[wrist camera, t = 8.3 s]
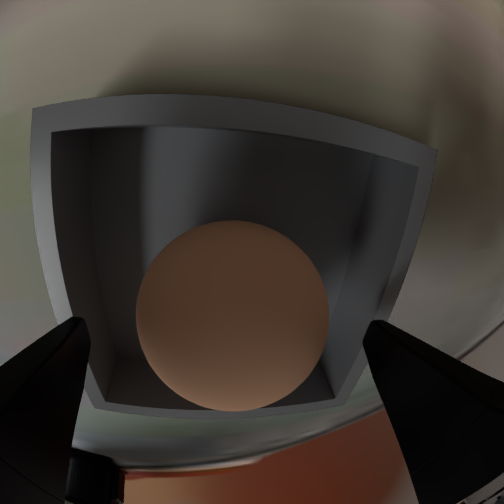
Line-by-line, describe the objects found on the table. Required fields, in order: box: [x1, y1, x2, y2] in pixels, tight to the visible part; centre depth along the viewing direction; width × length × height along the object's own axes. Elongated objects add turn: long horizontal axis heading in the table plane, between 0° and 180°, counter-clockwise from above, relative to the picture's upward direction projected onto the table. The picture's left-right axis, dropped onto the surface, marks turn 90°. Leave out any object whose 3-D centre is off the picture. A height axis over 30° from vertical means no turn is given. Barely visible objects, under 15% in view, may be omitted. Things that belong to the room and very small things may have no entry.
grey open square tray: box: [30, 94, 438, 419], centre depth 10 cm, size 13×13×4 cm
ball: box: [136, 220, 329, 411], centre depth 8 cm, size 6×6×6 cm
